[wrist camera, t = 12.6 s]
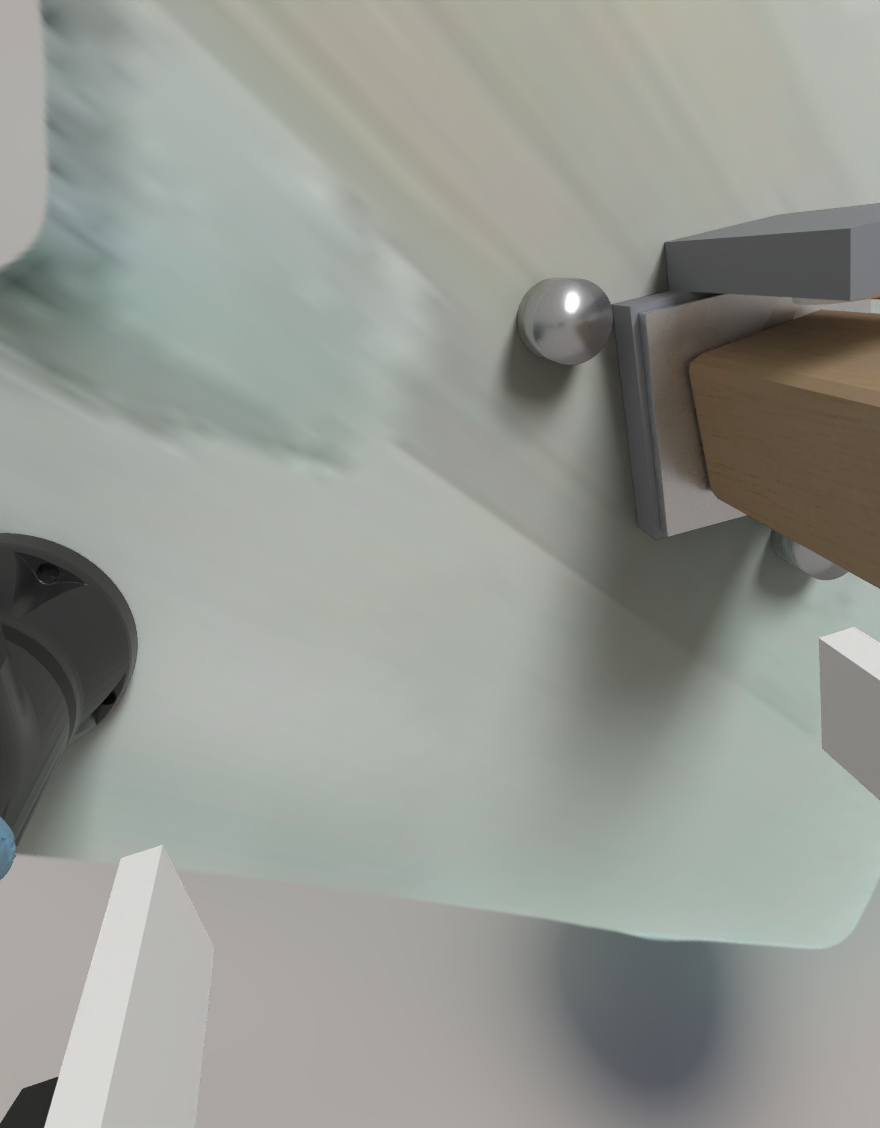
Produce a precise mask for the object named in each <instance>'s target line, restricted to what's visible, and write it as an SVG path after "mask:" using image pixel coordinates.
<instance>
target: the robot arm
mask: <svg viewBox="0 0 880 1128" xmlns="http://www.w3.org/2000/svg"><path fill="white" fill-rule="evenodd" d="M137 646H138V645H137V631H136V626H135V622H134V618H133V615H132V613H131V610H130V608H129V606H128V604H127V602H126V600H125V598H124V596H123V595H122V593H121V592H120V590H119V589H118V588H117V586H116V585H115V584H114V583H113V581H112V580H111V579H110V578H109V577H108V576H107V575H106V574H105V573H104V572H103V571H102V570H101V569H100V568H98V567H97V566H96V565H95V564H93V563H92V562H91V561H89V560H88V559H87V558H85V557H83V556H82V555H80V554H79V553H77V552H75V551H73V550H71V549H69V548H67V547H65V546H63V545H60V544H57V543H55V542H52V541H49V540H46V539H42V538H38V537H34V536H29V535H22V534H12V533H0V880H1V879H2V878H3V877H4V876H5V875H6V874H7V872H8V871H9V869H10V868H11V865H12V863H13V859H14V858H15V857H16V855H15V854H14V853H15V851H16V850H17V846H18V844H19V841H20V839H21V837H22V835H23V833H24V831H25V829H26V827H27V825H28V823H29V821H30V819H31V817H32V815H33V813H34V811H35V809H36V807H37V805H38V803H39V801H40V799H41V797H42V795H43V793H44V791H45V789H46V787H47V785H48V783H49V781H50V779H51V776H52V774H53V772H54V770H55V768H56V766H57V764H58V762H59V760H60V758H61V756H62V754H63V752H64V750H65V748H66V747H67V746H69V745H70V744H72V743H73V742H74V741H76V740H77V739H79V738H80V737H81V736H83V735H84V734H86V733H87V732H88V731H90V730H91V729H92V728H94V727H95V726H96V725H98V724H99V723H100V722H101V721H102V720H103V719H104V718H105V717H106V716H107V715H108V714H109V713H110V712H111V711H112V709H113V708H114V707H115V706H116V704H117V703H118V701H119V700H120V698H121V696H122V694H123V693H124V690H125V688H126V686H127V684H128V681H129V679H130V677H131V674H132V672H133V669H134V666H135V662H136V656H137ZM819 658H820V691H821V724H822V749H823V750H824V751H825V752H827V753H828V754H829V755H830V756H831V757H832V758H833V759H834V760H835V761H837V762H838V763H839V764H840V765H841V766H842V767H843V768H844V769H845V770H847V771H848V772H849V773H850V774H851V775H852V776H853V777H854V778H856V779H857V780H858V781H859V782H860V783H861V784H862V785H863V786H864V787H866V788H867V789H868V790H869V791H870V792H871V793H872V794H873V795H874V796H876V797H877V798H878V799H879V800H880V643H879V642H877V641H876V640H874V639H873V638H871V637H869V636H868V635H866V634H865V633H863V632H862V631H860V630H858V629H857V628H855V627H852V628H849V629H846V630H843V631H840V632H836V633H833V634H830V635H827V636H824V637H820V638H819ZM214 951H215V948H214V946H213V944H212V942H211V940H210V938H209V936H208V934H207V932H206V930H205V928H204V926H203V924H202V922H201V920H200V918H199V916H198V914H197V912H196V910H195V908H194V906H193V904H192V902H191V900H190V898H189V896H188V894H187V892H186V890H185V888H184V886H183V884H182V882H181V881H180V878H179V876H178V874H177V872H176V870H175V868H174V866H173V864H172V862H171V860H170V858H169V856H168V854H167V852H166V850H165V848H164V846H163V845H161V846H158V847H155V848H151V849H148V850H145V851H142V852H139V853H136V854H132V855H129V856H126V857H123V858H121V861H120V864H119V868H118V871H117V875H116V878H115V882H114V885H113V889H112V892H111V896H110V899H109V903H108V906H107V910H106V913H105V917H104V920H103V924H102V927H101V931H100V934H99V938H98V941H97V945H96V948H95V952H94V955H93V959H92V962H91V966H90V969H89V973H88V976H87V980H86V983H85V987H84V990H83V994H82V997H81V1001H80V1005H79V1008H78V1012H77V1015H76V1018H75V1022H74V1025H73V1029H72V1032H71V1036H70V1039H69V1043H68V1046H67V1050H66V1053H65V1057H64V1060H63V1064H62V1067H61V1071H60V1074H59V1077H56V1078H53V1079H50V1080H47V1081H44V1082H41V1083H38V1084H35V1085H32V1086H29V1087H26V1088H23V1089H22V1090H21V1092H20V1094H19V1095H18V1097H17V1098H16V1100H15V1101H14V1103H13V1104H12V1106H11V1108H10V1109H9V1111H8V1112H7V1114H6V1116H5V1117H4V1118H3V1120H2V1122H1V1123H0V1128H195V1125H196V1116H197V1106H198V1098H199V1088H200V1079H201V1070H202V1061H203V1052H204V1043H205V1033H206V1024H207V1015H208V1005H209V997H210V988H211V979H212V970H213V960H214Z"/></svg>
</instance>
